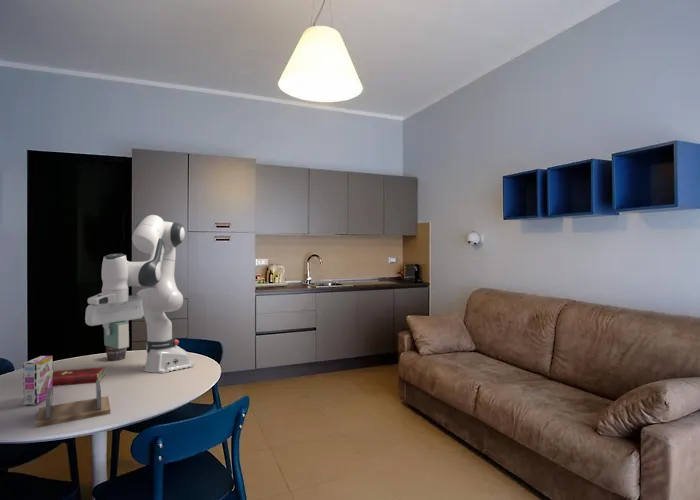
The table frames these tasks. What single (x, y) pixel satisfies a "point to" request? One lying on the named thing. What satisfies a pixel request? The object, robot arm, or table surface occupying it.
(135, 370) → the table surface
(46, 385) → the candy bar box
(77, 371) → the hardcover book
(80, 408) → the shelf board
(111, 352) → the cupcake
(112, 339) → the book
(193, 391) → the table surface
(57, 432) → the table surface
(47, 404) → the bookends
